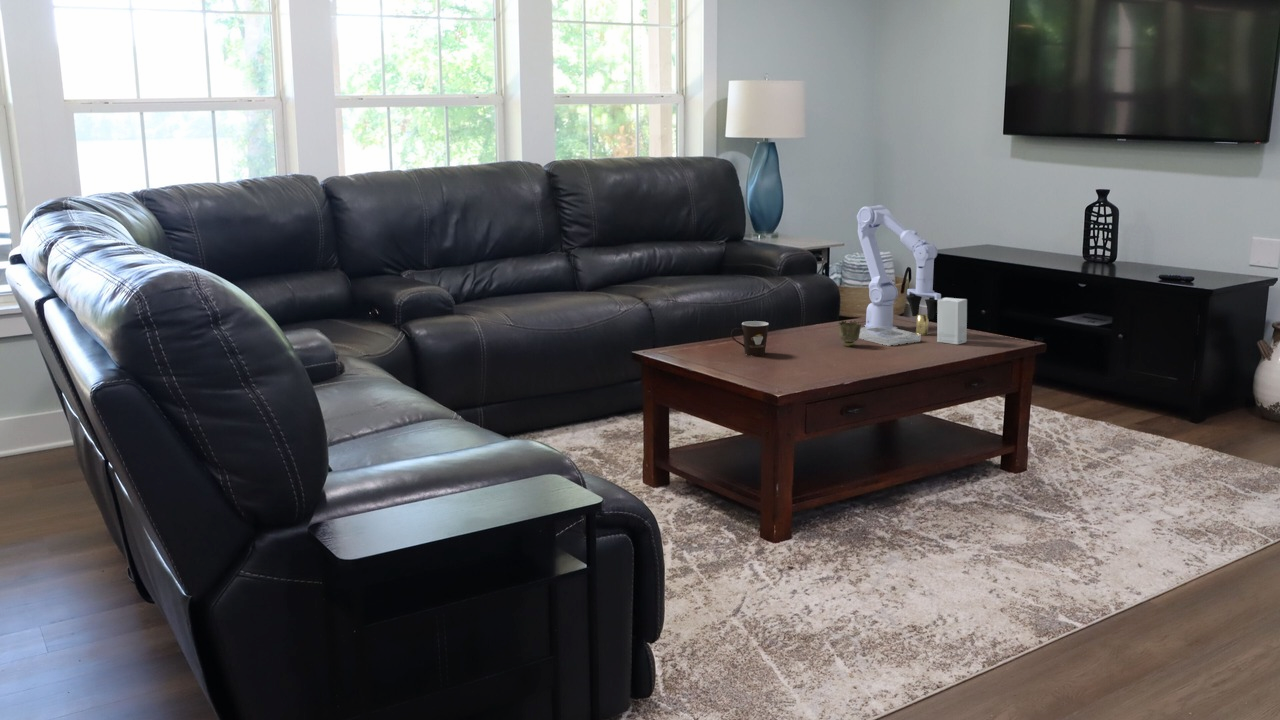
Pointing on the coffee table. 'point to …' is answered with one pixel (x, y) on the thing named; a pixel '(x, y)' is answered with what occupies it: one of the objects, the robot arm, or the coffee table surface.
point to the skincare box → (952, 320)
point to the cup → (849, 332)
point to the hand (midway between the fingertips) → (922, 317)
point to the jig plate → (888, 335)
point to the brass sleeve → (922, 324)
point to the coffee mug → (753, 337)
